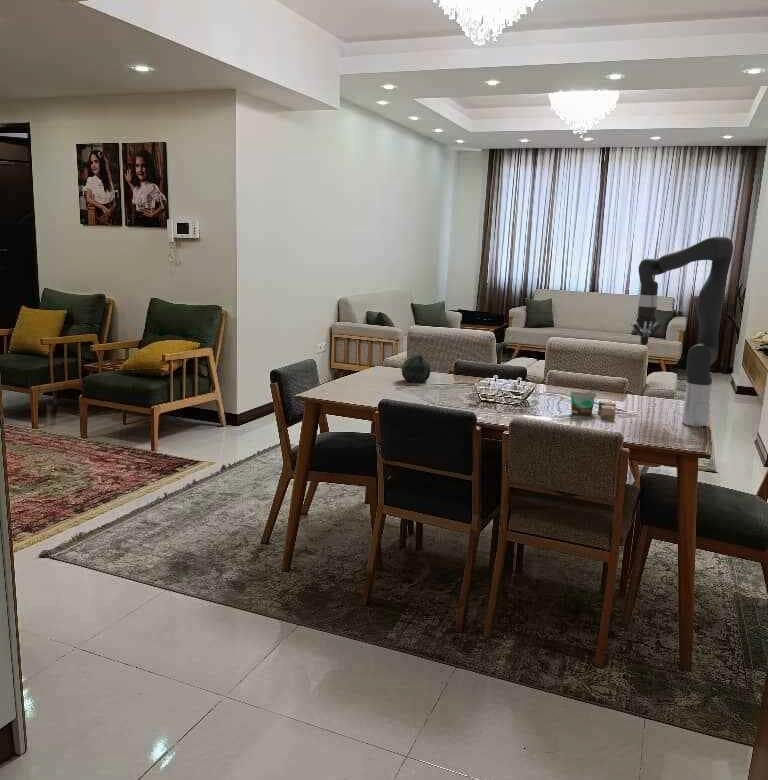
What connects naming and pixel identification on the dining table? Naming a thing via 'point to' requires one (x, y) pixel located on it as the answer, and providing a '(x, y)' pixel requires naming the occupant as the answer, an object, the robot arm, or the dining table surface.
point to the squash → (416, 369)
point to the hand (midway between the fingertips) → (643, 344)
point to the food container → (582, 402)
